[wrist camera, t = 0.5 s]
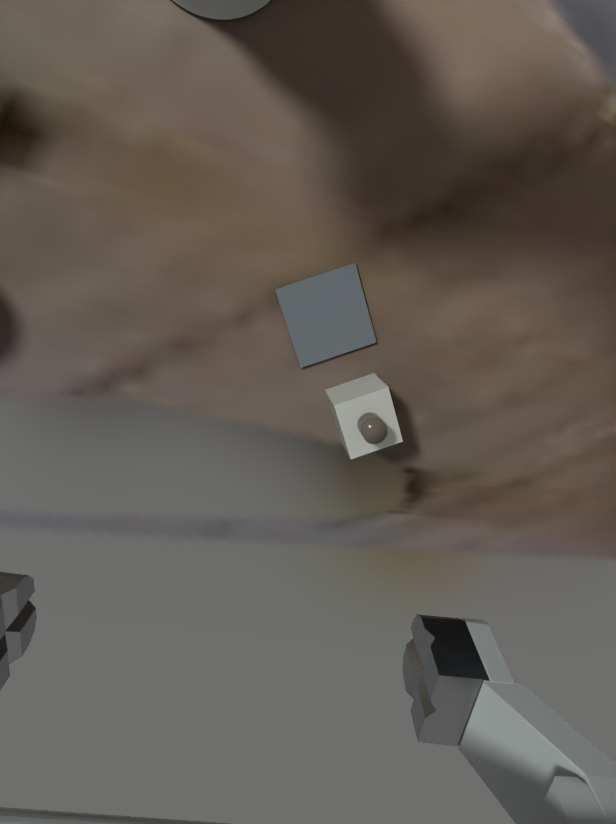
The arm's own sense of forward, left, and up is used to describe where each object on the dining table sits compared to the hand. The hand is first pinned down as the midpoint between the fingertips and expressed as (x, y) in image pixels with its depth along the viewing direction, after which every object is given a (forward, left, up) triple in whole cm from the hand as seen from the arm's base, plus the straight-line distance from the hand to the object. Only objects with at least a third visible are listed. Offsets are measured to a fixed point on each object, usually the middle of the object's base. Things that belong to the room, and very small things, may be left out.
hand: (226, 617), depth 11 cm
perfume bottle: (+10, +14, -46) cm, 49 cm away
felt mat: (0, +10, -46) cm, 47 cm away
